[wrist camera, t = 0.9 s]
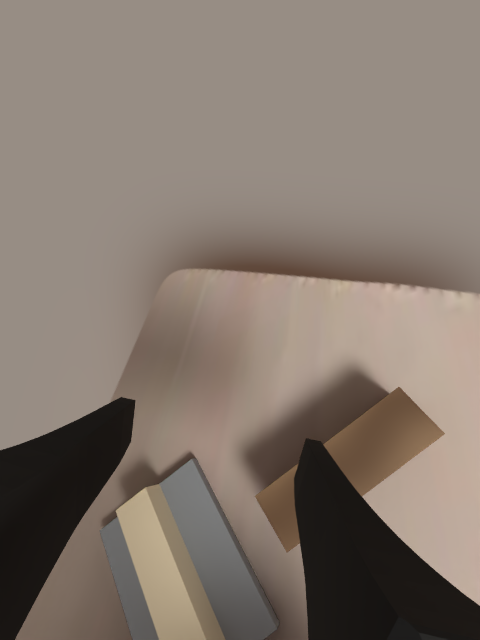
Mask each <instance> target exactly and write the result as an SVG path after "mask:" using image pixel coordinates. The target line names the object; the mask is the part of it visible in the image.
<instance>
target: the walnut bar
mask: <svg viewBox="0 0 480 640" xmlns="http://www.w3.org/2000/svg"><path fill="white" fill-rule="evenodd" d="M444 434H445V433H444V432H443V431H442V430H441V429H440V428H439V427H438V426H437V425H436V424H435V423H434V422H433V421H432V420H431V419H430V418H429V417H428V416H427V415H426V414H425V413H424V412H423V411H422V410H421V409H420V408H419V407H418V406H417V405H416V404H415V403H414V402H413V401H412V400H411V398H410V397H409V396H408V395H407V394H406V393H405V392H404V391H403V390H402V389H401V388H400V387H398V388H397V389H395V390H394V391H393V392H391V393H390V394H389V395H387V396H386V397H385V398H384V399H382V400H381V401H380V402H378V403H377V404H376V405H374V406H373V407H372V408H370V409H369V410H368V411H366V412H365V413H364V414H363V415H361V416H360V417H359V418H357V419H356V420H355V421H353V422H352V423H351V424H349V425H348V426H347V427H345V428H344V429H343V430H341V431H340V432H339V433H338V434H336V435H335V436H334V437H332V438H331V439H330V440H328V441H327V442H326V443H324V444H323V445H324V446H325V448H326V449H327V451H328V452H329V454H330V455H331V456H332V458H333V459H334V461H335V462H336V463H337V465H338V466H339V468H340V469H341V470H342V472H343V473H344V474H345V476H346V477H347V479H348V480H349V481H350V482H351V484H352V485H353V486H354V488H355V489H356V490H357V491H358V493H359V494H360V495H361V496H363V495H364V494H366V493H367V492H368V491H370V490H371V489H372V488H374V487H375V486H376V485H378V484H379V483H380V482H381V481H383V480H384V479H385V478H387V477H388V476H389V475H391V474H392V473H393V472H395V471H396V470H397V469H399V468H400V467H401V466H403V465H404V464H405V463H407V462H408V461H409V460H411V459H412V458H413V457H415V456H416V455H417V454H419V453H420V452H421V451H423V450H424V449H425V448H427V447H428V446H429V445H431V444H432V443H433V442H435V441H436V440H437V439H439V438H440V437H441V436H443V435H444ZM297 467H298V464H297V465H295V466H294V467H293V468H292V469H290V470H289V471H288V472H286V473H285V474H284V475H282V476H281V477H280V478H278V479H277V480H276V481H274V482H273V483H272V484H270V485H269V486H268V487H267V488H265V489H264V490H263V491H261V492H260V493H259V494H257V495H256V496H255V497H256V499H257V501H258V502H259V504H260V506H261V508H262V509H263V511H264V513H265V515H266V516H267V518H268V520H269V522H270V524H271V525H272V527H273V529H274V531H275V532H276V534H277V536H278V538H279V539H280V541H281V543H282V545H283V546H284V548H285V550H286V552H289V551H290V550H291V549H293V548H294V547H295V546H297V545H298V544H299V543H300V539H299V532H298V525H297V518H296V511H295V500H294V477H295V473H296V470H297Z"/></svg>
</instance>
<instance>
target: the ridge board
mask: <svg viewBox="0 0 480 640" xmlns="http://www.w3.org/2000/svg"><path fill="white" fill-rule="evenodd" d="M116 513H117V516H118V517H116V518H115V519H114V520H113V521H111V522H110V523H109V524H107V525H106V526H105V527H104V528H102V529H101V530H100V534H101V537H102V540H103V544H104V547H105V550H106V554H107V557H108V560H109V564H110V567H111V570H112V574H113V577H114V580H115V584H116V587H117V590H118V593H119V597H120V600H121V603H122V607H123V610H124V613H125V617H126V620H127V623H128V627H129V630H130V633H131V637H132V640H264V639H265V638H266V637H268V636H269V635H270V634H272V633H273V632H274V631H275V630H277V628H278V625H279V620H278V618H277V617H276V615H275V613H274V611H273V609H272V607H271V605H270V603H269V601H268V599H267V597H266V595H265V593H264V591H263V589H262V587H261V585H260V583H259V581H258V579H257V577H256V575H255V573H254V571H253V569H252V567H251V565H250V563H249V561H248V559H247V558H246V556H245V554H244V552H243V550H242V548H241V546H240V544H239V542H238V540H237V538H236V536H235V534H234V532H233V530H232V528H231V526H230V524H229V522H228V520H227V518H226V516H225V514H224V512H223V510H222V508H221V506H220V504H219V502H218V500H217V499H216V497H215V495H214V493H213V491H212V489H211V487H210V485H209V483H208V481H207V479H206V477H205V475H204V473H203V471H202V469H201V467H200V465H199V463H198V461H197V459H196V458H193V459H191V460H189V461H188V462H187V463H186V464H184V465H183V466H182V467H180V468H179V469H178V470H177V471H175V472H174V473H173V474H172V475H170V476H169V477H168V478H166V479H165V480H164V481H163V482H161V483H160V484H157V485H153V486H149V487H145V488H144V489H143V490H141V491H140V492H139V493H137V494H136V495H135V496H134V497H132V498H131V499H130V500H129V501H127V502H126V503H125V504H123V505H122V506H121V507H120V508H118V509H117V510H116Z"/></svg>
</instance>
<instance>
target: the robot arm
mask: <svg viewBox="0 0 480 640" xmlns="http://www.w3.org/2000/svg"><path fill="white" fill-rule="evenodd" d="M134 409H135V400H132V399H127V398H123V397H121V398H119V399H117V400H115V401H113V402H111V403H109V404H107V405H105V406H103V407H102V408H99V409H98V410H96V411H94V412H92V413H90V414H88V415H86V416H84V417H82V418H80V419H78V420H76V421H74V422H72V423H70V424H68V425H65V426H63V427H61V428H59V429H57V430H54V431H52V432H50V433H48V434H45V435H43V436H40V437H38V438H35V439H33V440H30V441H27V442H25V443H22V444H19V445H16V446H13V447H10V448H7V449H3V450H0V640H15V638H16V636H17V634H18V632H19V631H20V629H21V627H22V625H23V623H24V621H25V619H26V617H27V615H28V613H29V612H30V610H31V608H32V606H33V604H34V602H35V600H36V598H37V596H38V594H39V593H40V591H41V589H42V587H43V585H44V583H45V582H46V580H47V578H48V576H49V574H50V573H51V571H52V569H53V567H54V565H55V563H56V562H57V560H58V558H59V556H60V554H61V553H62V551H63V549H64V547H65V546H66V544H67V542H68V540H69V539H70V537H71V535H72V533H73V532H74V530H75V528H76V527H77V525H78V524H79V522H80V520H81V519H82V517H83V516H84V514H85V513H86V511H87V510H88V509H89V507H90V506H91V504H92V503H93V501H94V500H95V498H96V497H97V496H98V494H99V493H100V491H101V490H102V488H103V487H104V485H105V484H106V483H107V481H108V480H109V478H110V477H111V475H112V474H113V472H114V471H115V469H116V468H117V466H118V465H119V463H120V461H121V460H122V458H123V456H124V454H125V452H126V450H127V448H128V446H129V444H130V442H131V437H132V428H133V418H134ZM294 500H295V511H296V518H297V525H298V532H299V539H300V545H301V552H302V559H303V566H304V574H305V584H306V600H307V616H308V638H309V640H480V606H479V605H478V604H476V603H475V602H474V601H472V600H471V599H470V598H468V597H467V596H466V595H464V594H463V593H462V592H460V591H459V590H458V589H457V588H456V587H454V586H453V585H452V584H451V583H449V582H448V581H447V580H446V579H445V578H443V577H442V576H441V575H440V574H439V573H437V572H436V571H435V570H434V569H433V568H432V567H430V566H429V565H428V564H427V563H426V562H425V561H424V560H422V559H421V558H420V557H419V556H418V555H417V554H416V553H415V552H414V551H413V550H412V549H411V548H410V547H408V546H407V545H406V544H405V543H404V542H403V541H402V540H401V539H400V538H399V537H398V536H397V535H396V534H395V533H394V532H393V531H392V530H391V529H390V528H389V527H388V526H387V525H386V524H385V522H384V521H383V520H382V519H381V518H380V517H379V516H378V515H377V514H376V513H375V512H374V511H373V509H372V508H371V507H370V506H369V505H368V504H367V502H366V501H365V500H364V499H363V498H362V496H361V495H360V494H359V493H358V491H357V490H356V489H355V488H354V486H353V485H352V484H351V482H350V481H349V480H348V479H347V477H346V476H345V474H344V473H343V472H342V470H341V469H340V468H339V466H338V465H337V463H336V462H335V461H334V459H333V458H332V456H331V455H330V454H329V452H328V451H327V449H326V448H325V446H324V445H323V444H322V442H320V441H316V440H311V439H307V438H306V441H305V444H304V447H303V450H302V454H301V457H300V460H299V463H298V467H297V470H296V473H295V477H294Z"/></svg>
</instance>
